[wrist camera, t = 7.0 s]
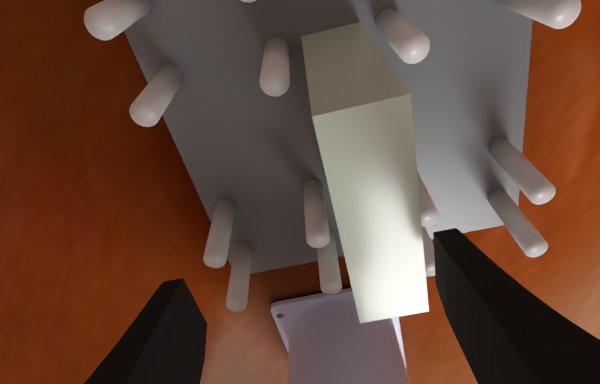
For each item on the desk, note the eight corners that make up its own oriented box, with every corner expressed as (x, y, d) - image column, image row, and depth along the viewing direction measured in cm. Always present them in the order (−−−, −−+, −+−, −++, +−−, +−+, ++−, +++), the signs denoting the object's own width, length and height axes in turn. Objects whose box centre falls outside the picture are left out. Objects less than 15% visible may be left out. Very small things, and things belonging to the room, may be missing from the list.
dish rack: (508, 211, 23) (556, 275, 19) (237, 264, 25) (228, 334, 21) (533, -180, 14) (638, -220, 10) (97, -53, 16) (29, -42, 11)
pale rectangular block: (382, 185, 21) (429, 311, 14) (336, 194, 21) (359, 323, 14) (359, 21, 16) (410, 94, 10) (300, 36, 17) (311, 116, 10)
